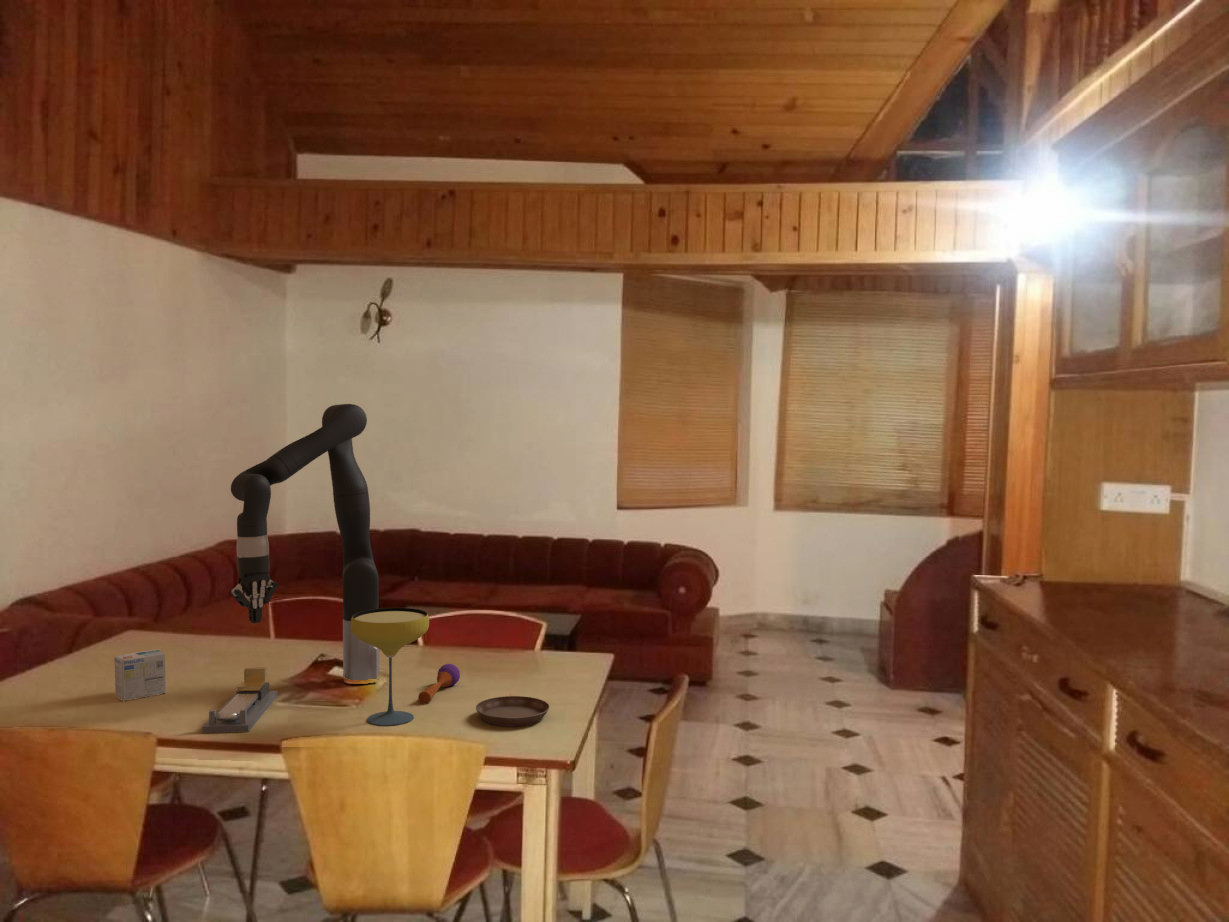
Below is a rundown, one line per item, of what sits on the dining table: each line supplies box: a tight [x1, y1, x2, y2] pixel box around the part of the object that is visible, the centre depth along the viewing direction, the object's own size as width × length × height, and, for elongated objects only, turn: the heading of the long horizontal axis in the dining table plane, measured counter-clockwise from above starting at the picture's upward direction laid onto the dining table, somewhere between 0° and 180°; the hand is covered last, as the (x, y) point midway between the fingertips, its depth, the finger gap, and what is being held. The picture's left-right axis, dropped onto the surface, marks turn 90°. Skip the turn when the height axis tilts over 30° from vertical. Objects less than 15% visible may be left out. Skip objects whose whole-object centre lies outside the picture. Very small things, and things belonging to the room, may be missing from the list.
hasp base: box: [202, 681, 278, 734], centre depth 234 cm, size 28×10×4 cm, turn 6°
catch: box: [237, 666, 267, 691], centre depth 244 cm, size 7×5×4 cm
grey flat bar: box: [217, 694, 258, 721], centre depth 230 cm, size 18×5×2 cm, turn 6°
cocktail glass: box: [351, 607, 430, 727], centre depth 231 cm, size 18×18×25 cm
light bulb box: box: [114, 648, 167, 701], centre depth 249 cm, size 11×7×11 cm, turn 135°
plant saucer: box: [475, 695, 550, 727], centre depth 234 cm, size 18×18×3 cm
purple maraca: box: [417, 663, 461, 705], centre depth 254 cm, size 6×6×20 cm
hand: (255, 622), depth 242 cm, fingers closed
